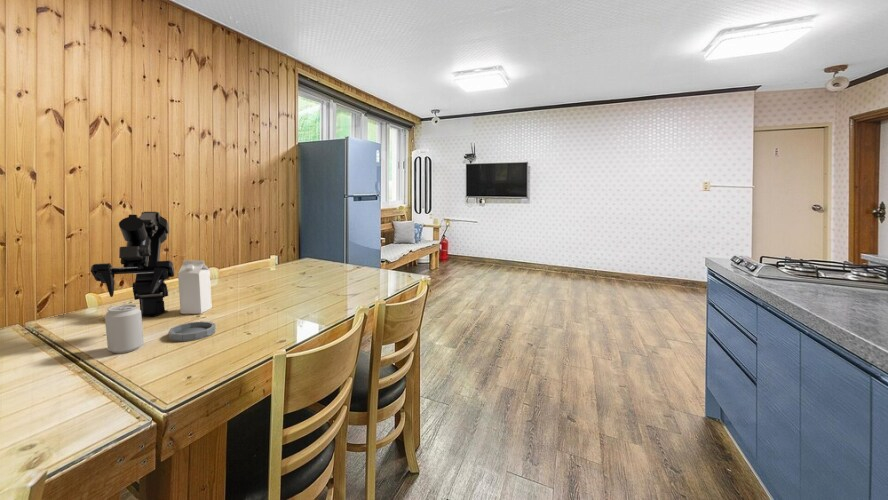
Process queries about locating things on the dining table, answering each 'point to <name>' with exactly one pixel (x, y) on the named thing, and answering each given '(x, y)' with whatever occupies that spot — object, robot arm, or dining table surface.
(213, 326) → the ring coaster
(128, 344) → the can
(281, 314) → the dining table surface
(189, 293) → the milk carton
